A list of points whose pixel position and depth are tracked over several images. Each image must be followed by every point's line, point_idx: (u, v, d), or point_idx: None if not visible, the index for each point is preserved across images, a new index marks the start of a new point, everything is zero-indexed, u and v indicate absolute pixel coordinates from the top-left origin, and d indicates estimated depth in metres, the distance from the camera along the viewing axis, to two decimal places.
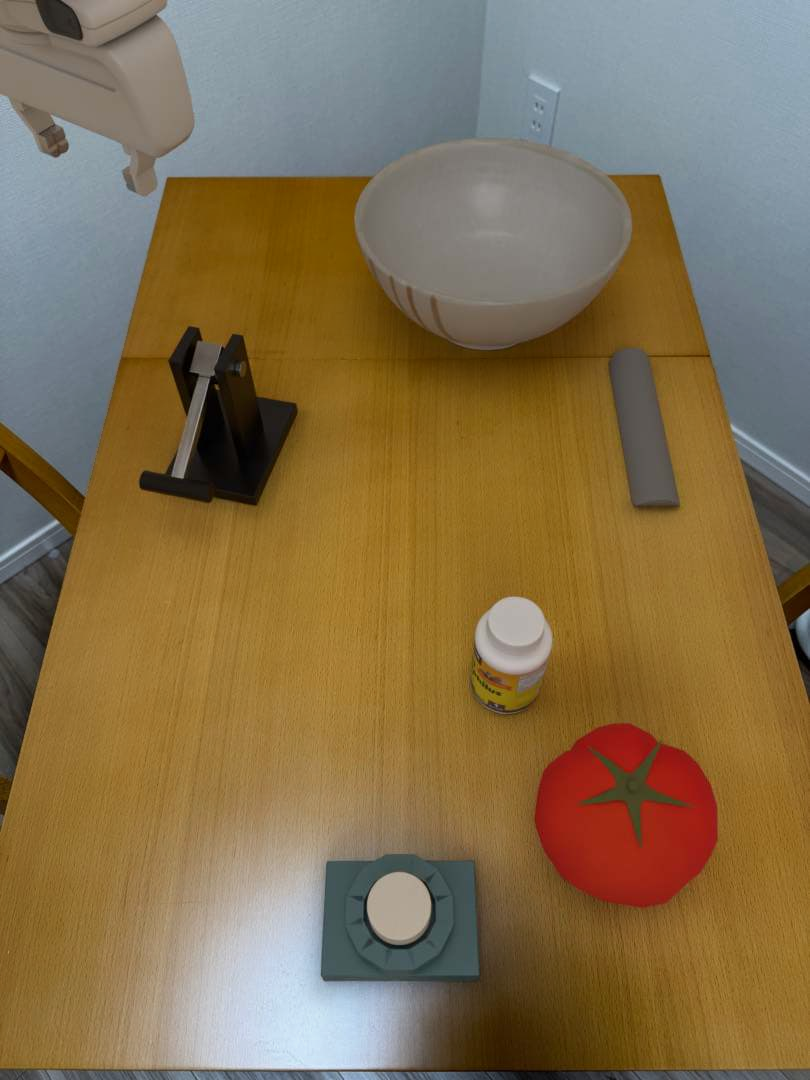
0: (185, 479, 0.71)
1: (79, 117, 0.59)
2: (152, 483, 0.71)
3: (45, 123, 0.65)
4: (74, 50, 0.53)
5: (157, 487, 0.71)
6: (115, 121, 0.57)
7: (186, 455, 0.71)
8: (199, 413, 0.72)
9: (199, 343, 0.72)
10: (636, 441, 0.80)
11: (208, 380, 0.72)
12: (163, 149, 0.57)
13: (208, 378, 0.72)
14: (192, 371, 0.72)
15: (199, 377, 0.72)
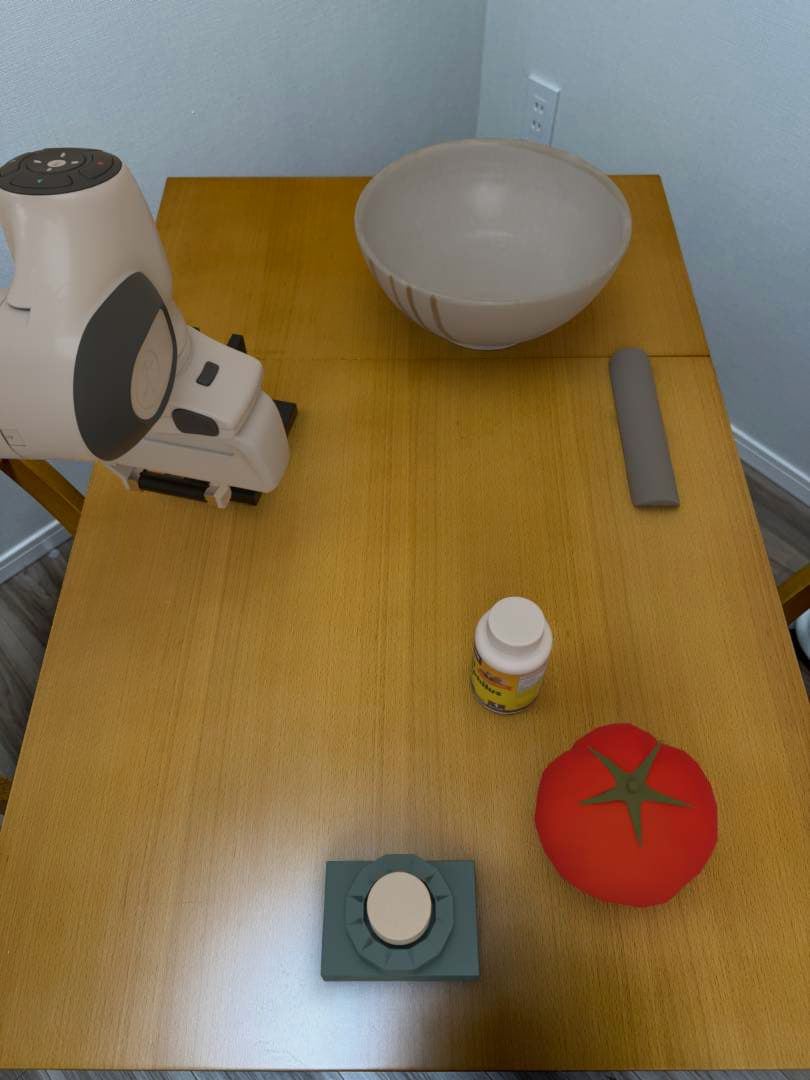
0: (185, 479, 0.71)
1: (183, 471, 0.66)
2: (152, 483, 0.71)
3: (130, 466, 0.71)
4: (201, 439, 0.60)
5: (157, 487, 0.71)
6: (227, 473, 0.65)
7: None
8: None
9: None
10: (636, 441, 0.80)
11: None
12: (276, 486, 0.65)
13: None
14: None
15: None
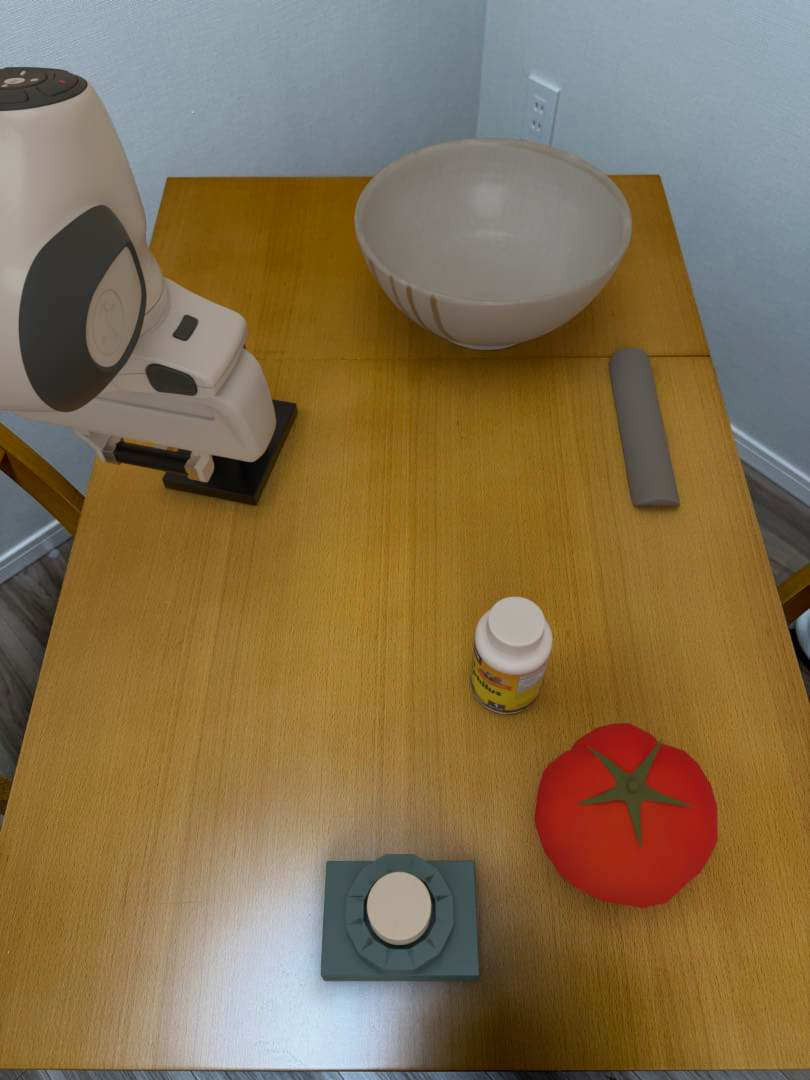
0: (168, 450, 0.67)
1: (160, 439, 0.61)
2: (132, 451, 0.66)
3: (105, 437, 0.66)
4: (178, 399, 0.56)
5: (137, 455, 0.66)
6: (208, 440, 0.60)
7: None
8: None
9: None
10: (636, 441, 0.80)
11: None
12: (260, 455, 0.60)
13: None
14: None
15: None
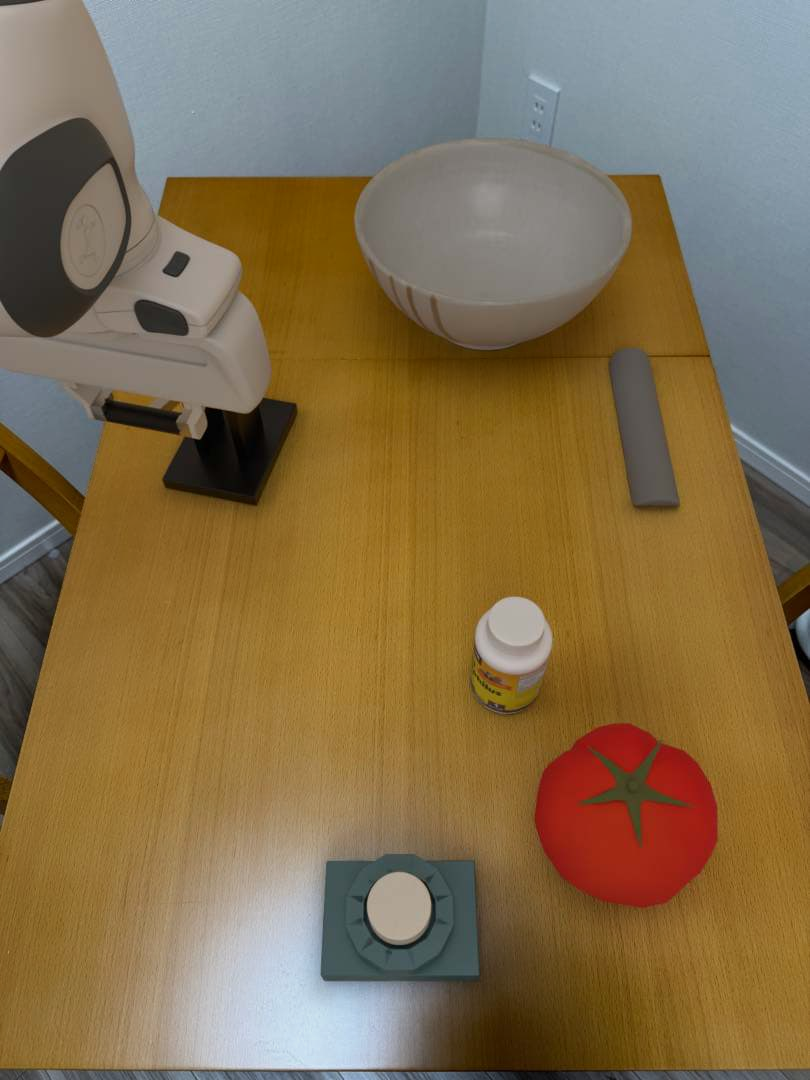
0: None
1: (151, 389, 0.58)
2: (123, 406, 0.64)
3: (93, 392, 0.63)
4: (169, 341, 0.53)
5: (127, 409, 0.63)
6: (200, 389, 0.57)
7: None
8: None
9: None
10: (636, 441, 0.80)
11: None
12: (255, 405, 0.58)
13: None
14: None
15: None
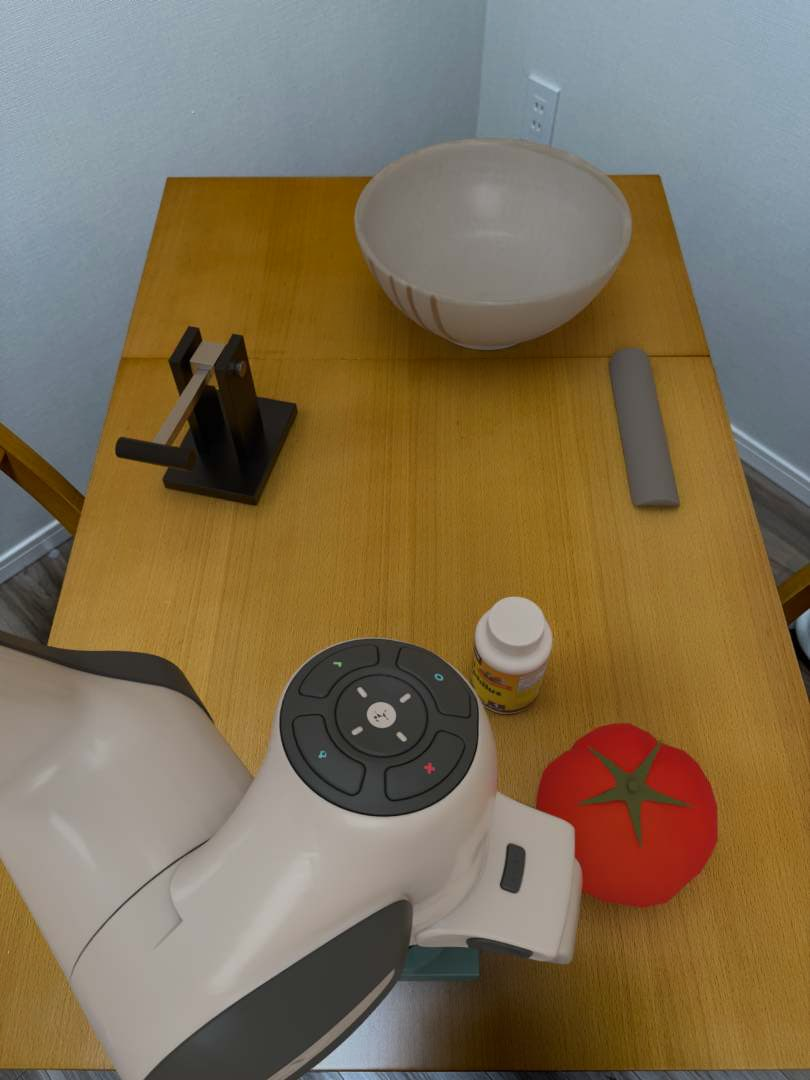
0: (167, 445, 0.66)
1: None
2: (130, 445, 0.66)
3: None
4: None
5: (135, 449, 0.66)
6: None
7: (171, 426, 0.67)
8: (192, 395, 0.70)
9: (203, 342, 0.73)
10: (636, 441, 0.80)
11: (206, 372, 0.72)
12: None
13: (207, 370, 0.72)
14: (192, 361, 0.71)
15: (197, 369, 0.72)
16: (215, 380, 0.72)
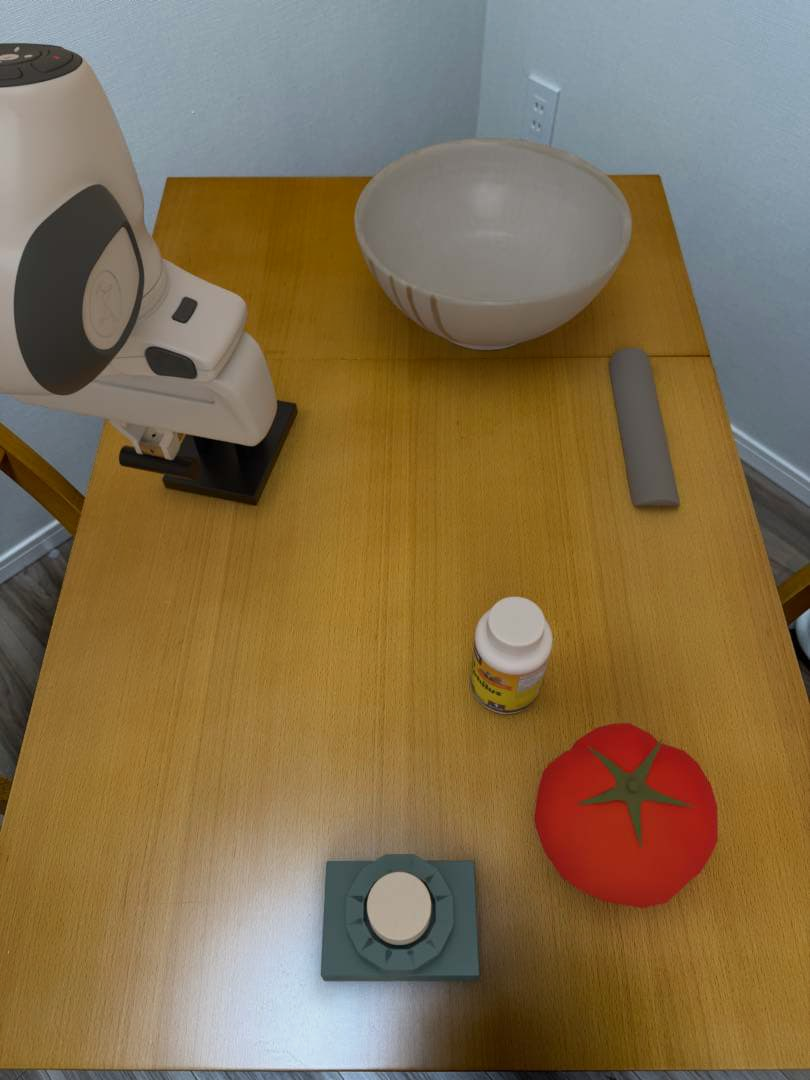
0: None
1: (161, 423, 0.61)
2: (134, 455, 0.67)
3: (141, 428, 0.65)
4: (178, 383, 0.55)
5: (138, 459, 0.67)
6: (208, 424, 0.59)
7: None
8: None
9: None
10: (636, 441, 0.80)
11: None
12: (261, 439, 0.60)
13: None
14: None
15: None
16: None
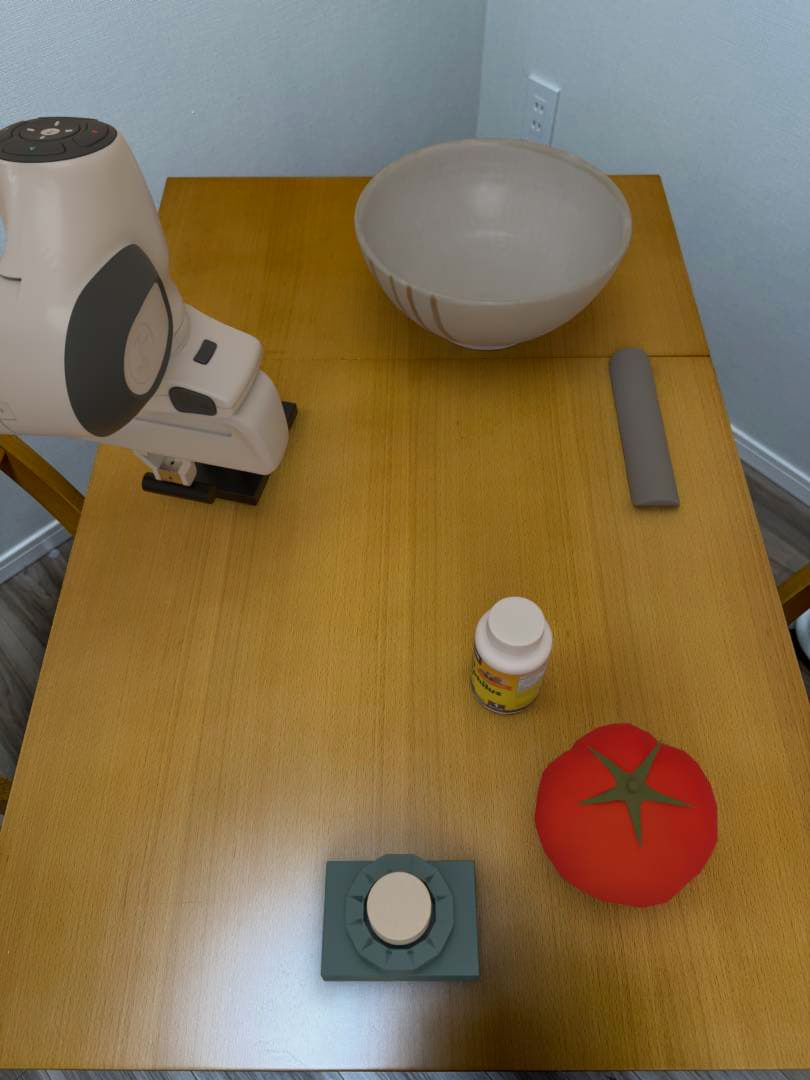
0: None
1: (180, 453, 0.65)
2: (155, 485, 0.71)
3: (160, 456, 0.69)
4: (198, 418, 0.59)
5: (159, 489, 0.71)
6: (225, 455, 0.64)
7: None
8: None
9: None
10: (636, 441, 0.80)
11: None
12: (275, 468, 0.64)
13: None
14: None
15: None
16: None
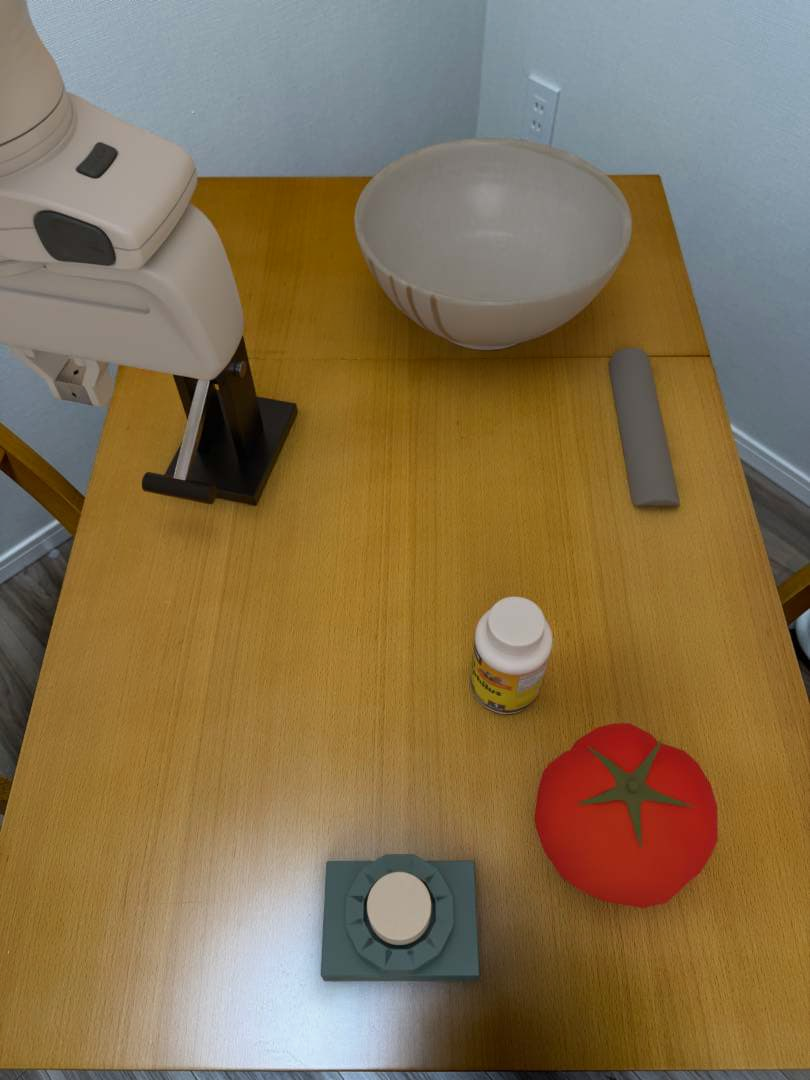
0: (187, 481, 0.71)
1: (78, 347, 0.42)
2: (155, 485, 0.71)
3: (59, 362, 0.47)
4: (91, 276, 0.37)
5: (160, 489, 0.71)
6: (144, 347, 0.41)
7: (187, 457, 0.71)
8: (200, 414, 0.72)
9: None
10: (636, 441, 0.80)
11: (208, 381, 0.72)
12: (221, 369, 0.42)
13: None
14: None
15: None
16: None
